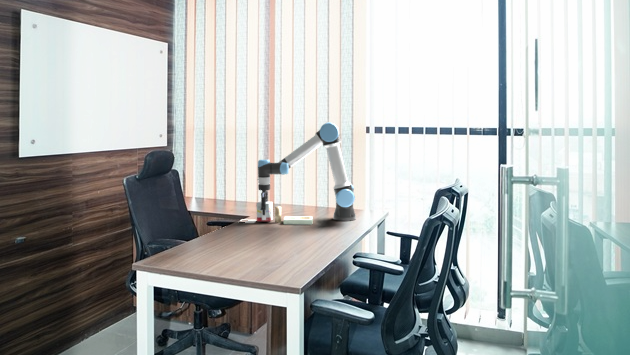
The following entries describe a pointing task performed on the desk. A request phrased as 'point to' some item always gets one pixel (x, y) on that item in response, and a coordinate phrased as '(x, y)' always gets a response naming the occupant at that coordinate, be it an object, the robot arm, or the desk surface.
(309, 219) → the socket board
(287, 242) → the desk surface
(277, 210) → the peg
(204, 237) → the desk surface
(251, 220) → the mat
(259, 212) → the ink box
